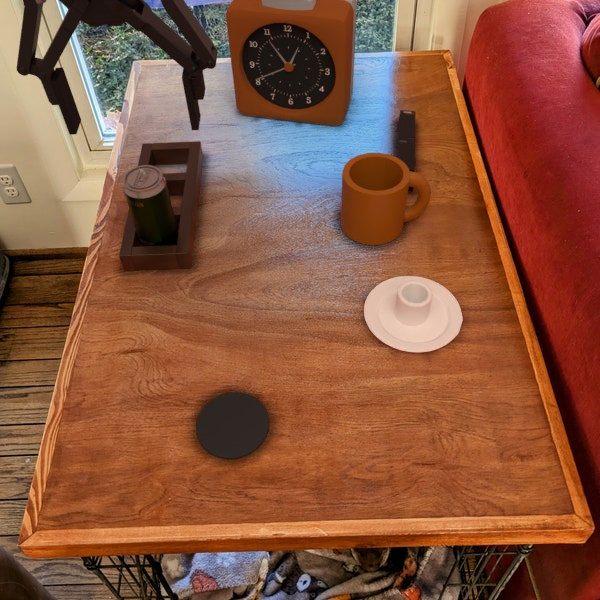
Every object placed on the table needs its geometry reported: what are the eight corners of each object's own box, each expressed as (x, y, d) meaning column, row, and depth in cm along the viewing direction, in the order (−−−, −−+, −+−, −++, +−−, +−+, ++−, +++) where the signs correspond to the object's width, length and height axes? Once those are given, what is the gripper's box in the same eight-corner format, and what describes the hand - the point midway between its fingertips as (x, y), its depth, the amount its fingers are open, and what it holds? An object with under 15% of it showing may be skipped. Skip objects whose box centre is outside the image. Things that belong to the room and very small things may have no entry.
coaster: (217, 473, 66) (217, 471, 65) (184, 416, 70) (183, 414, 70) (282, 435, 68) (282, 433, 68) (246, 382, 73) (246, 380, 72)
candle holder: (480, 330, 76) (488, 308, 73) (398, 371, 73) (402, 350, 70) (423, 267, 83) (428, 244, 80) (345, 301, 80) (346, 279, 76)
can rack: (124, 271, 84) (118, 255, 82) (146, 159, 99) (142, 143, 97) (191, 268, 84) (187, 253, 82) (203, 156, 99) (200, 141, 97)
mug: (425, 250, 85) (435, 200, 78) (337, 243, 86) (339, 193, 79) (426, 205, 91) (435, 155, 84) (343, 199, 92) (345, 149, 85)
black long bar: (413, 195, 92) (415, 179, 90) (395, 194, 92) (397, 178, 90) (414, 123, 103) (416, 107, 101) (398, 122, 103) (400, 106, 101)
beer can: (172, 262, 85) (154, 195, 75) (135, 256, 86) (113, 188, 76) (186, 235, 88) (170, 167, 79) (150, 229, 89) (131, 161, 80)
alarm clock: (235, 116, 106) (221, -7, 90) (250, 87, 111) (238, -34, 95) (343, 129, 103) (348, 4, 87) (353, 98, 108) (358, -25, 92)
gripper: (226, -106, 56) (247, 101, 73) (-51, -95, 56) (33, 109, 73) (221, -72, 51) (245, 141, 68) (-81, -60, 52) (16, 149, 68)
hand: (135, 125), depth 70 cm, fingers open, 13 cm apart
